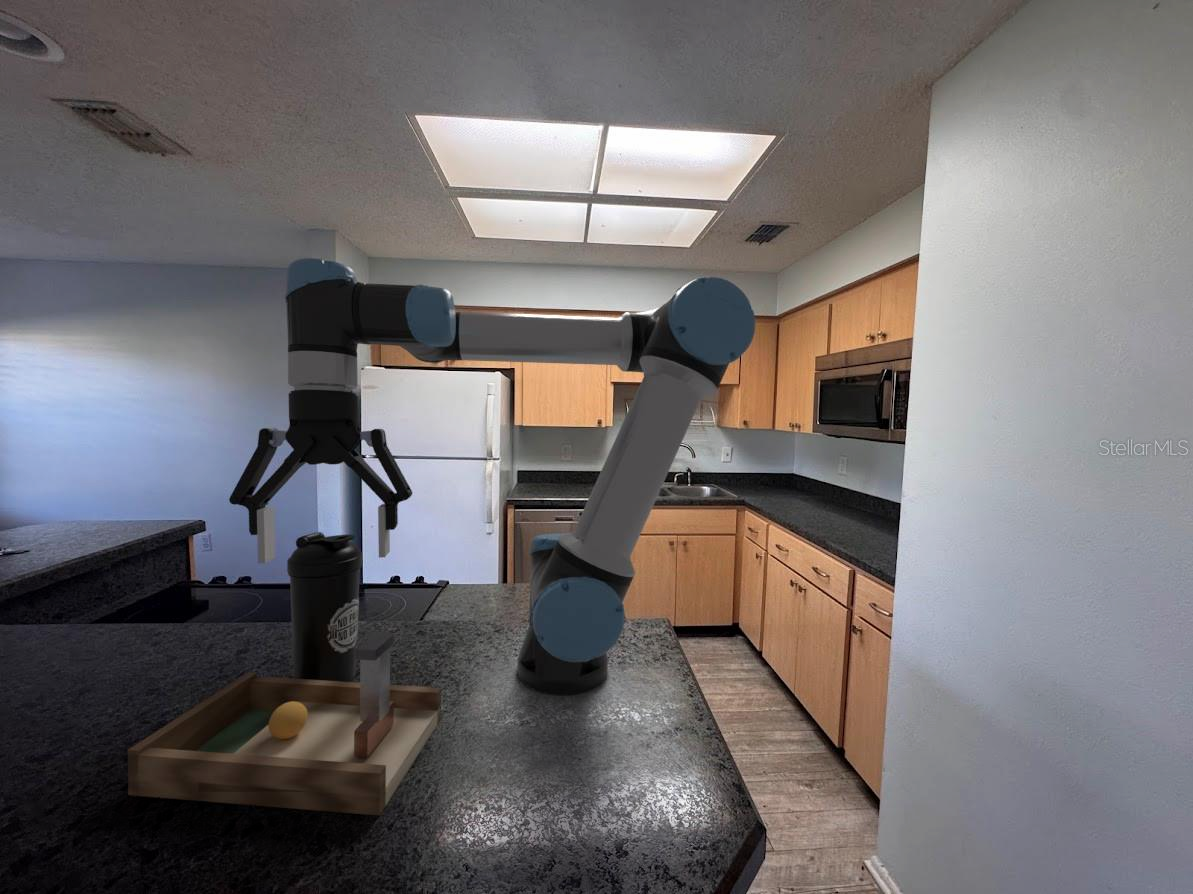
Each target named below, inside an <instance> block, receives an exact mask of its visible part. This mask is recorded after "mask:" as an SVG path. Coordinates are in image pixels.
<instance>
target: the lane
mask: <svg viewBox="0 0 1193 894" xmlns="http://www.w3.org/2000/svg"><path fill="white" fill-rule="evenodd" d="M292 701H295V702H299V703H301V704H303V705H304V706H305V707H306V709H307V713H308V717H307V721H306V724H305V726H304V727H303V729H302V730H301V731H300V732H299V733H298V734H296V735H295V736H293V737H291V738H288V739H278V738H276V737H274V736H273V735H272V734H271V733H270V731H269V720H270V717H271V715H272V714H273V712H274V711H275V710H276V709H277V708H278V707H279V706H281V705H283V704H285V703H287V702H292ZM390 701H394V720H393V726H392V727H391V728H390V729H389V731H388V732H387V733H386V734H385V736H384V737H383V738H382V740H381V741H380V742H379V743H378V745H377V746H376V747H375V748H374V750H373V751H372V752H371V753H370V755H369V756H368V757H356V756H354V731H355V730H356V729H357V727H358V726H359V725H360V724H361V723H362V722H363V721H360V682H355V681H353V682H352V681H350V682H340V681H324V680H309V679H294V677H293V678H292V677H291V678H290V677H289V678H288V677H275V676H259V675H258V673H257V672H250V671H249V672H247V673H245V674H244V675H242V676H241V677H239V678H237V679H236V680H234V681H233V682H232V683H230V684H228V685H226V686H225V687H223V688H222V689H220V690H218V691H217V692H216V693H214V694H213V695H211V696H209V697H207V698H206V699H205V700H203V701H202V702H200V703H199V704H197V705H195V706H194V707H192V708H191V709H189V710H187V711H186V712H185V713H182V714H181V715H180V716H179V717H176V718H175V719H174V720H172V721H171V722H169V723H167V724H166V725H165V726H163V727H161V728H159V729H158V730H156V731H155V732H153V733H152V734H150V735H149V736H147V737H146V738H144V739H142V740H141V741H139V742H138V743H136V744H135V745H133V746H131V747H130V748H128V749H127V783H128V784H127V785H128V786H127V787H128V789H127V791H128V792H127V793H128V796H133V797H134V796H137V797H147V798H159V797H160V799H172V800H173V799H174V800H183V801H185V800H186V801H194V802H195V801H196V802H211V803H221V804H222V803H223V804H234V805H235V804H236V805H245V806H246V805H247V806H257V807H258V806H259V807H271V808H283V809H294V810H306V811H320V812H321V811H322V812H331V813H332V812H333V813H344V814H355V815H357V814H358V815H369V816H381V814H382V813H383V812H384V809H385V808H386V806H387V805H388V803H389V801H390V800H391V798H392V797H393V795H394V793H395V792H396V790H397V789H398V787H399V786H400V785H401V783H402V781H403V779H404V778H405V777H406V774H407V773H408V772H409V770H410V768H411V767H412V766H413V763H414V762H415V760H416V759H417V757H418V756H419V755H420V753H421V751H422V750H423V748H424V747H425V745H426V744H427V742H428V740H429V738H430V737H431V735H432V734H433V733H434V731H435V730H436V728H437V726H438V725H439V723H440V721H441V719H442V718H441V717H442V687H433V686H416V685H399V684H390Z"/></svg>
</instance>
